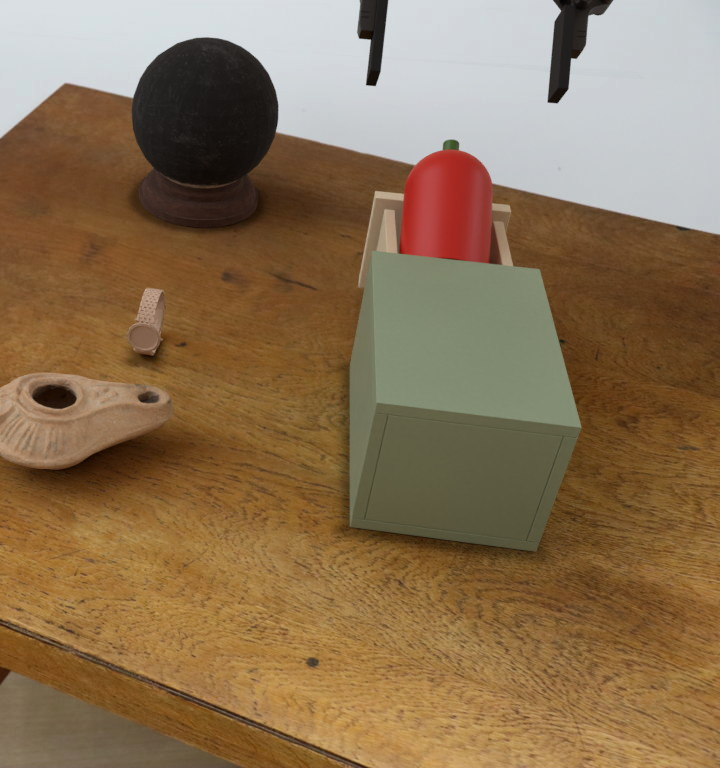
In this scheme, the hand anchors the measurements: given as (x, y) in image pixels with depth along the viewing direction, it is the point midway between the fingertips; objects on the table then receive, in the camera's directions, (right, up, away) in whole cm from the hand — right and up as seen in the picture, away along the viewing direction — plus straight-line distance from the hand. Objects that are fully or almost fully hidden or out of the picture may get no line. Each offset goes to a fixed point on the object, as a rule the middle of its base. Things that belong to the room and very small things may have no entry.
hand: (464, 87), depth 83 cm
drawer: (-2, -17, +5) cm, 18 cm away
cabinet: (-4, -27, -6) cm, 28 cm away
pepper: (-2, -14, -2) cm, 15 cm away
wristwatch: (-23, -20, +2) cm, 31 cm away
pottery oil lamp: (-28, -27, -8) cm, 40 cm away
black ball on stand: (-19, -5, +22) cm, 29 cm away
